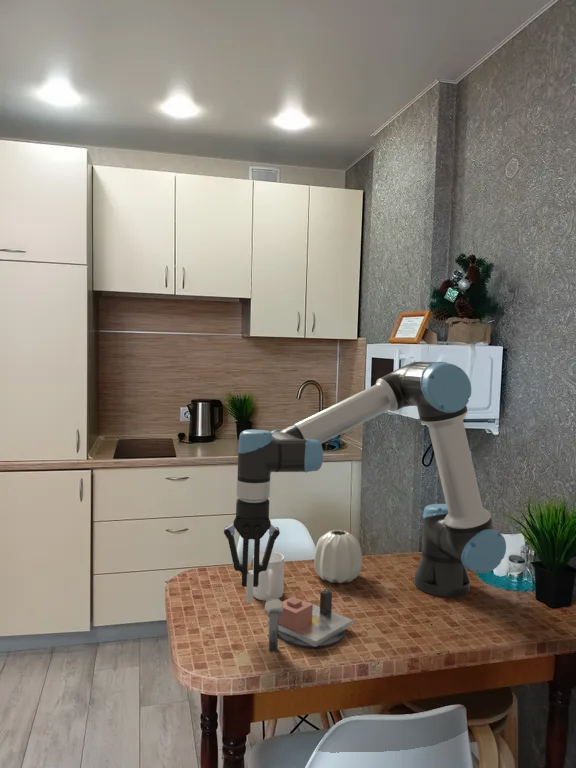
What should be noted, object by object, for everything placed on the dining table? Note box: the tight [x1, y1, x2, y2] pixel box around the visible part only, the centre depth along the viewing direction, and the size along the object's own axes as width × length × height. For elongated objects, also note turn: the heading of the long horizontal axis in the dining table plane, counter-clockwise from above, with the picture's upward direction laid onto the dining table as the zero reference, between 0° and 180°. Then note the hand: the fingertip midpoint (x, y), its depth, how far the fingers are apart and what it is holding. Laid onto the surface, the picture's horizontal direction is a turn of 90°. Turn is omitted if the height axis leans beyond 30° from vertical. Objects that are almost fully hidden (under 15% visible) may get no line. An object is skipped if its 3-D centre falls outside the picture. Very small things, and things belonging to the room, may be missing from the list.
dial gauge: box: [264, 598, 283, 652], centre depth 123 cm, size 4×3×11 cm, turn 94°
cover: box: [279, 596, 314, 631], centre depth 130 cm, size 6×6×5 cm
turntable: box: [267, 588, 354, 647], centre depth 131 cm, size 14×14×6 cm
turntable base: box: [278, 629, 346, 649], centre depth 132 cm, size 16×16×1 cm
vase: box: [313, 529, 363, 584], centre depth 163 cm, size 14×14×13 cm
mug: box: [252, 551, 285, 602], centre depth 149 cm, size 12×8×10 cm
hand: (249, 599), depth 130 cm, fingers closed
